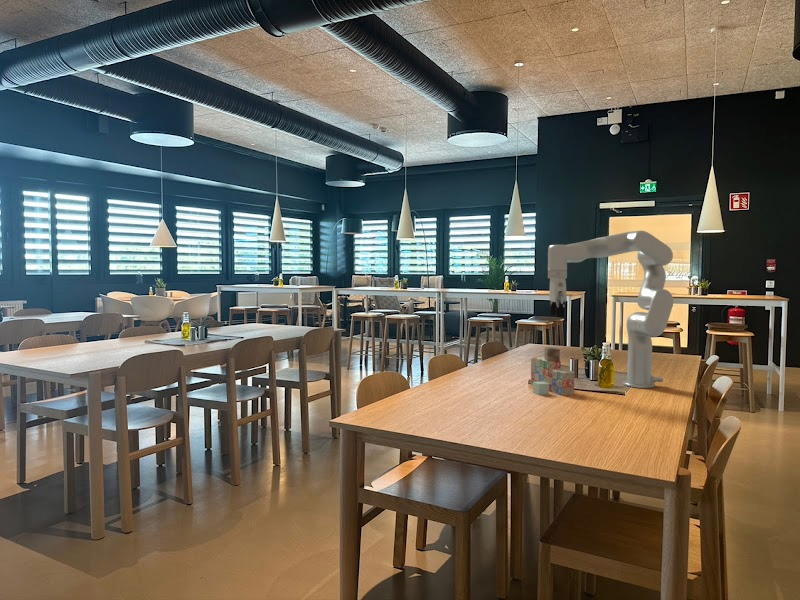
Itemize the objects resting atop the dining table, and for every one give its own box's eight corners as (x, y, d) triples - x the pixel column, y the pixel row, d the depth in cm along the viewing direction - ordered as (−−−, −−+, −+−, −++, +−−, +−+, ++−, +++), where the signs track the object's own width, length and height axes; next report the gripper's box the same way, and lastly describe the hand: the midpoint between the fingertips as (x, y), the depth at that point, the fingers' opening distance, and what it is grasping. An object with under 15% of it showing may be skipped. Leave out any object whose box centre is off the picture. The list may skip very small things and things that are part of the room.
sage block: (542, 392, 228) (542, 381, 228) (548, 394, 224) (548, 383, 224) (532, 393, 227) (532, 381, 227) (538, 395, 223) (539, 384, 222)
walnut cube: (556, 359, 236) (556, 347, 235) (559, 361, 231) (559, 349, 230) (544, 359, 236) (544, 347, 235) (547, 361, 231) (547, 349, 230)
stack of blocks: (574, 394, 224) (575, 364, 224) (561, 396, 222) (562, 365, 222) (542, 384, 244) (543, 356, 244) (530, 385, 242) (530, 357, 242)
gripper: (572, 274, 224) (571, 317, 225) (561, 274, 242) (560, 314, 243) (553, 275, 224) (553, 317, 225) (543, 274, 242) (543, 314, 243)
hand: (557, 316), depth 234 cm, fingers open, 9 cm apart
